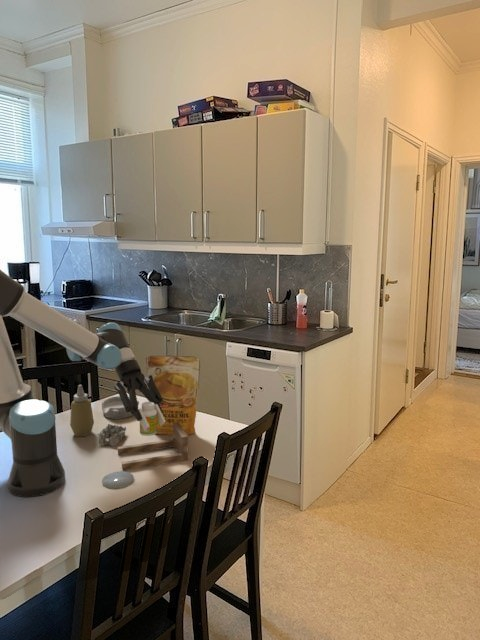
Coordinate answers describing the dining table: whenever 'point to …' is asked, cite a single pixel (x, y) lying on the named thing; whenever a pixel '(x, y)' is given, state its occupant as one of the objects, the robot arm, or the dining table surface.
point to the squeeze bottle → (81, 414)
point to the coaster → (117, 479)
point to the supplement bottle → (149, 419)
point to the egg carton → (115, 432)
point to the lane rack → (178, 442)
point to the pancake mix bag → (176, 390)
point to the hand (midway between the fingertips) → (155, 426)
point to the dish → (115, 408)
